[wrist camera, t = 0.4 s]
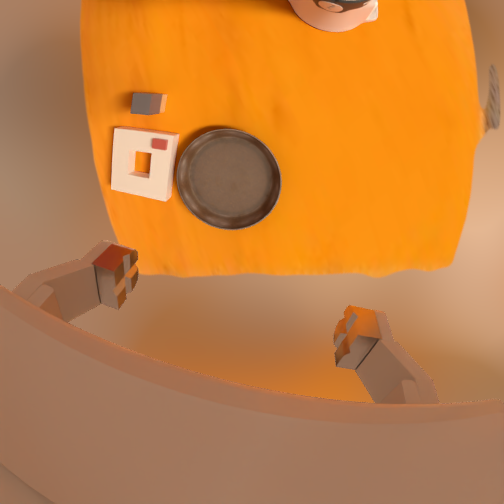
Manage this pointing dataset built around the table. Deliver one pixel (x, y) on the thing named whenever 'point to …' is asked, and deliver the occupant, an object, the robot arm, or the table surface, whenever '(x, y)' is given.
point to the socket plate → (160, 168)
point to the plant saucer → (229, 179)
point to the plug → (148, 103)
